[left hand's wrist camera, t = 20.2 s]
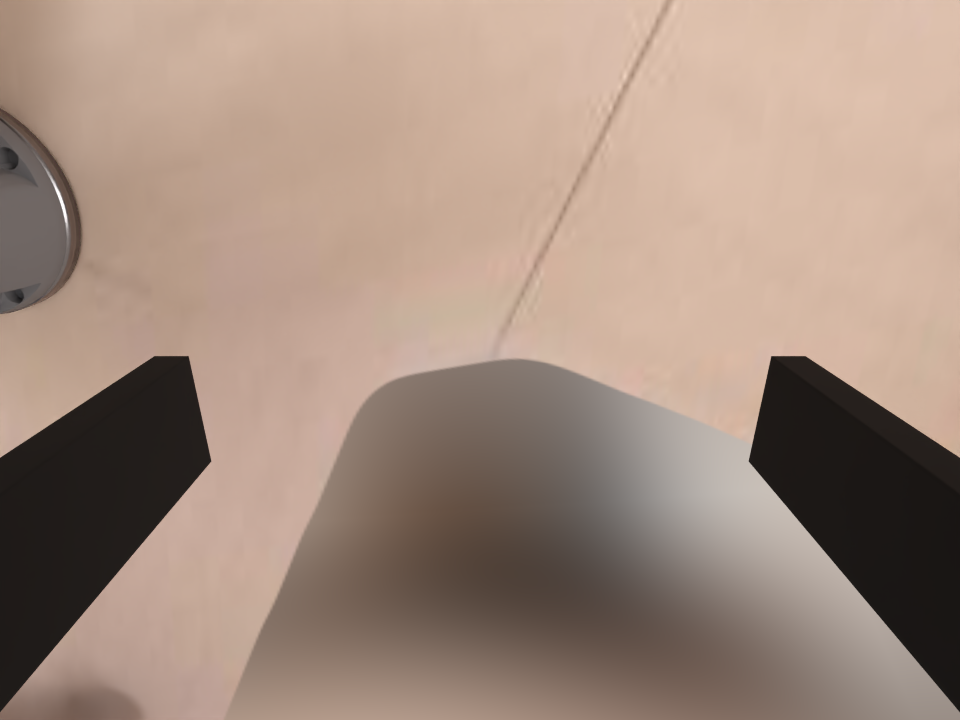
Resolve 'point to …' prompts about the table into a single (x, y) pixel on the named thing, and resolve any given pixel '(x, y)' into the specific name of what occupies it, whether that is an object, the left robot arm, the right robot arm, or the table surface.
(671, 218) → the table surface
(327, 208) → the table surface
